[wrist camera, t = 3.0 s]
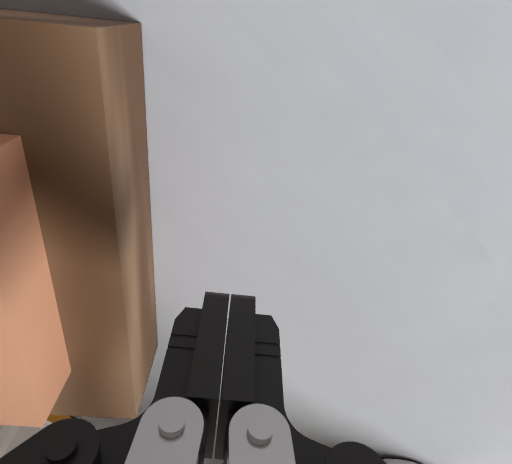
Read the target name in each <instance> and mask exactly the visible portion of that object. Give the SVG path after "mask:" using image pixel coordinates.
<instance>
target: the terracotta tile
mask: <svg viewBox="0 0 512 464" xmlns="http://www.w3.org/2000/svg"><path fill="white" fill-rule="evenodd" d="M70 373H71V367H70V363H69V358H68V353H67V349H66V344H65V340H64V335H63V330H62V326H61V321H60V316H59V312H58V307H57V303H56V298H55V293H54V289H53V284H52V279H51V275H50V270H49V265H48V261H47V256H46V252H45V247H44V242H43V238H42V233H41V228H40V224H39V219H38V215H37V210H36V205H35V201H34V196H33V191H32V187H31V182H30V177H29V173H28V168H27V164H26V159H25V154H24V150H23V145H22V140H21V136H20V135H9V134H0V425H11V426H30V427H43V426H44V424H45V422H46V420H47V418H48V416H49V414H50V412H51V410H52V408H53V406H54V404H55V402H56V400H57V398H58V396H59V394H60V393H61V391H62V389H63V387H64V385H65V383H66V381H67V379H68V377H69V375H70Z"/></svg>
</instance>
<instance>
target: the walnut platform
mask: <svg viewBox="0 0 512 464" xmlns="http://www.w3.org/2000/svg"><path fill="white" fill-rule="evenodd" d="M0 134H9V135H20V136H21V140H22V145H23V150H24V154H25V159H26V164H27V168H28V173H29V177H30V182H31V187H32V191H33V196H34V201H35V205H36V210H37V215H38V219H39V224H40V228H41V233H42V238H43V242H44V247H45V252H46V256H47V261H48V265H49V270H50V275H51V279H52V284H53V289H54V293H55V298H56V303H57V307H58V312H59V316H60V321H61V326H62V330H63V335H64V340H65V344H66V349H67V353H68V358H69V363H70V367H71V373H70V375H69V377H68V379H67V381H66V383H65V385H64V387H63V389H62V391H61V393H60V394H59V396H58V398H57V400H56V402H55V404H54V406H53V408H52V410H51V412H50V415H69V416H87V417H106V418H124V419H135V418H137V415H138V411H139V408H140V404H141V401H142V398H143V394H144V391H145V387H146V384H147V380H148V377H149V374H150V370H151V367H152V363H153V360H154V356H155V353H156V349H157V346H158V343H157V323H156V304H155V284H154V265H153V245H152V226H151V206H150V187H149V167H148V148H147V128H146V109H145V89H144V70H143V50H142V31H141V23H136V22H126V21H116V20H106V19H96V18H86V17H76V16H66V15H57V14H47V13H37V12H27V11H17V10H7V9H0Z"/></svg>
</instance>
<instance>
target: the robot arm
mask: <svg viewBox="0 0 512 464" xmlns="http://www.w3.org/2000/svg"><path fill="white" fill-rule="evenodd" d="M228 303H229V294H224V293H214V292H205V297H204V302H203V307H202V309H198V308H187V307H185V308H184V310H183V311H182V312H181V313H180V314H179V315H178V316H177V318H176V319H175V321H174V325H173V329H172V333H171V337H170V340H169V344H168V349H167V351H166V355H165V359H164V363H163V367H162V370H161V374H160V378H159V382H158V386H157V389H156V393H155V396H154V399H153V401H152V403H151V404H150V406H149V407H148V408H147V410H146V411H145V412H144V413H142V414H141V415H140V416H139V417H137V418H135V419H134V420H132V421H130V422H127V423H125V424H121V425H117V426H113V427H109V428H104V429H100V430H96V429H95V427H94V426H93V425H92V424H91V423H89V422H87V421H86V420H82V419H78V418H68V419H62V420H59V421H56V422H54V423H52V424H50V425H48V426H46V427H45V428H43V429H42V430H40V431H39V432H37V433H36V434H34V435H33V436H32V437H30V438H29V439H27V440H26V441H24V442H23V443H21V444H20V445H19V446H17V447H16V448H14V449H13V450H11V451H10V452H8V453H7V454H5V455H4V456H3V457H1V458H0V464H203V463H204V458H211V459H212V453H213V445H214V436H215V428H216V420H217V412H218V403H219V394H220V384H221V374H222V364H223V354H224V344H225V334H226V324H227V313H228ZM280 357H281V354H280V338H279V328H278V327H277V325H276V323H275V321H274V320H273V318H272V316H270V315H260V314H255V296H245V295H235V294H231V302H230V310H229V319H228V327H227V335H226V345H225V355H224V365H223V375H222V386H221V396H220V407H219V417H218V428H217V438H216V448H215V459H223V463H222V464H417V463H414V462H411V461H405V460H400V459H382V458H381V457H380V456H379V455H378V454H377V453H376V452H375V451H373V450H372V449H370V448H369V447H367V446H365V445H363V444H360V443H357V442H342V443H339V444H337V445H336V446H334V447H333V448H329V447H327V446H325V445H322V444H320V443H318V442H315V441H313V440H311V439H309V438H307V437H305V436H303V435H302V434H300V433H299V432H298V431H297V430H296V429H295V428H294V427H293V426H292V424H291V423H290V421H289V420H288V418H287V416H286V413H285V410H284V400H283V385H282V369H281V359H280Z"/></svg>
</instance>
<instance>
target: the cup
mask: <svg viewBox="0 0 512 464" xmlns="http://www.w3.org/2000/svg"><path fill="white" fill-rule="evenodd" d="M68 418H72V417H70V416H68V415H50V414H49V416H48V418H47V420H46V422H45V424H44V426H43V427H30V426H11V425H0V458H1V457H3V456H4V455H5V454H7V453H8V452H10V451H11V450H13V449H14V448H16V447H17V446H19V445H20V444H21V443H23V442H24V441H26V440H27V439H29V438H30V437H32V436H33V435H34V434H36V433H37V432H39V431H40V430H42V429H43V428H45V427H46V426H48V425H50V424H52V423H54V422H56V421H59V420H62V419H68Z"/></svg>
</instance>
